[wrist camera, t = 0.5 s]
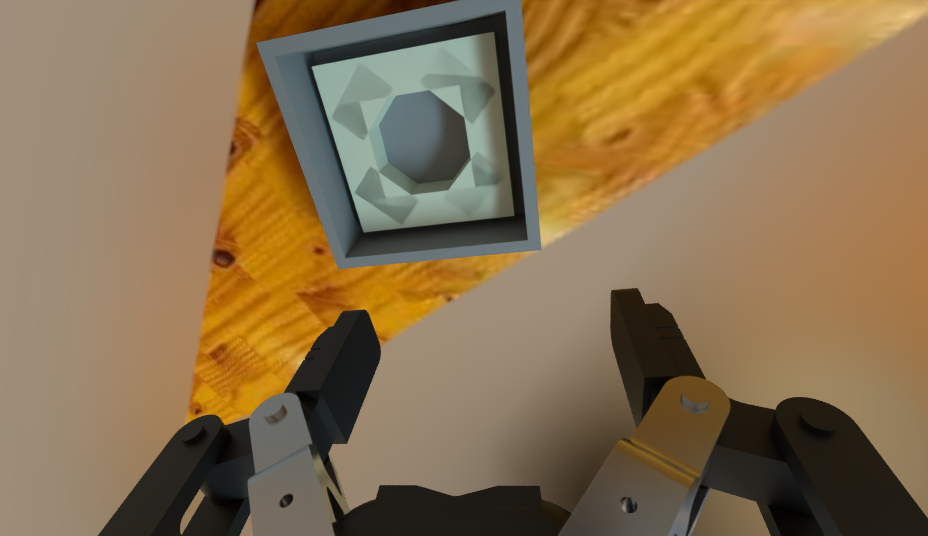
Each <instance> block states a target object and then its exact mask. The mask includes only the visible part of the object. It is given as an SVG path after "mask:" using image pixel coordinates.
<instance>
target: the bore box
mask: <svg viewBox="0 0 928 536" xmlns="http://www.w3.org/2000/svg"><path fill="white" fill-rule="evenodd" d="M256 44H257V47H258V50H259V53H260V55H261V58H262V61H263V64H264V66H265V69H266V72H267V75H268V77H269V80H270V83H271V86H272V88H273V91H274V94H275V97H276V99H277V102H278V105H279V108H280V110H281V113H282V116H283V119H284V121H285V124H286V127H287V130H288V132H289V135H290V138H291V141H292V143H293V146H294V149H295V152H296V154H297V157H298V160H299V163H300V165H301V168H302V171H303V174H304V176H305V179H306V182H307V185H308V187H309V190H310V193H311V196H312V198H313V201H314V204H315V207H316V209H317V212H318V215H319V218H320V220H321V223H322V226H323V229H324V231H325V234H326V237H327V240H328V242H329V245H330V248H331V251H332V253H333V256H334V259H335V262H336V264H337V267H338V269H343V268H354V267H364V266H375V265H386V264H396V263H407V262H418V261H428V260H439V259H450V258H460V257H471V256H482V255H492V254H503V253H514V252H525V251H535V250H541V240H540V228H539V215H538V203H537V191H536V178H535V166H534V154H533V141H532V129H531V117H530V105H529V92H528V80H527V68H526V55H525V43H524V31H523V18H522V6H521V0H458V1H453V2H448V3H444V4H439V5H434V6H429V7H425V8H420V9H415V10H410V11H405V12H401V13H396V14H391V15H386V16H382V17H377V18H372V19H367V20H362V21H358V22H353V23H348V24H343V25H338V26H334V27H329V28H324V29H319V30H315V31H310V32H305V33H300V34H295V35H291V36H286V37H281V38H276V39H272V40H267V41H262V42H257V43H256Z"/></svg>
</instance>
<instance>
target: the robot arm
mask: <svg viewBox="0 0 928 536" xmlns="http://www.w3.org/2000/svg"><path fill="white" fill-rule="evenodd" d="M610 323H611V324H610V328H611V340H612V345H613V350H614V353H615V357H616V360H617V364H618V367H619V370H620V374H621V377H622V380H623V384H624V388H625V391H626V394H627V398H628V401H629V405H630V408H631V411H632V415H633V418H634V422H635V425H636V428H637V429H636V431H635V432H634V434H633V436H632V437H631V438H630V439H629V440H627V439H625V438H623V439H621V440H620V441H619V442H618V443H617V445H616V446H615V448H614V449H613V451H612V452H611V454H610V455H609V457H608V458H607V460H606V461H605V463H604V464H603V466H602V468H601V469H600V471H599V472H598V474H597V475H596V477H595V479H594V480H593V482H592V483H591V485H590V486H589V488H588V489H587V491H586V492H585V494H584V496H583V497H582V499H581V500H580V502H579V503H578V505H577V506H576V508H575V509H574V511H573V512H572V513H571V512H569V511H568V510H566V509H564V508H562V507H561V506H558V505H556V504H554V503H551V502H548V501H545V500H542V499H541V492H540V486H496V487H492V488H488V489H484V490H480V491H476V492H472V493H468V494H464V495H461V496H451V495H447V494H444V493H441V492H437V491H434V490H430V489H427V488H424V487H420V486H416V485H413V486H412V485H406V486H405V485H401V486H400V485H380V486H379V490H378V493H377V497H376V499H375V500H372V501H369V502H366V503H364V504H362V505H360V506H358V507H356V508H354V509H353V510H351V511H350V509H349V506H348V504H347V501H346V498H345V495H344V492H343V490H342V486H341V483H340V480H339V478H338V475H337V472H336V469H335V466H334V463H333V460H332V458H331V456H330V454H329V451H330V448H331V446H332V444H347V442H348V440H349V437H350V435H351V432H352V430H353V427H354V424H355V422H356V419H357V417H358V415H359V412H360V409H361V407H362V404H363V402H364V399H365V397H366V394H367V392H368V389H369V387H370V384H371V381H372V379H373V376H374V374H375V371H376V369H377V366H378V364H379V361H380V356H381V348H380V343H379V340H378V338H377V335H376V332H375V330H374V327H373V324H372V322H371V319H370V316H369V314H368V312H367V311H366V310H352V311H343V312H342V313H341V314H340V316H339V318H338V319H337V321H336V323H335V324H334V326H333V327H329V328H328V329H326V330H325V331H324V332H323V333H322V334H321V335H320V336H319V337H318V338H317V339H316V341H315V342H314V344H313V346H312V347H311V351H309V352H308V354H307V355H306V357H305V360H303V362H302V364H301V365H300V367H299V368H298V370H297V372H296V373H295V375H294V377H293V378H292V380H291V381H290V383H289V385H288V386H287V388H286V390H285V391H284V393H281V394H277V395H275V396H272V397H270V398H269V399H267V400H265V401H264V402H263V403H261V404H260V405H259V406H258V407H257V408H256V409H255V410H254V412H253V413H252V415H251V417H250V418H248V419H245V420H241V421H238V422H235V423H231V424H228V425H224V423H223V422H222V420H221V419H220V418H219V417H218V416H216V415H205V416H202V417H199V418H196V419H194V420H192V421H191V422H189V423H187V424H186V425H185V426H183V427H182V428H181V429H180V430H179V431H178V432H177V433H176V434H175V435H174V436H173V437H172V438H171V440H170V441H169V442H168V444H167V445H166V446H165V448H164V449H163V450H162V452H161V453H160V454H159V456H158V457H157V458H156V459H155V461H154V462H153V464H152V465H151V466H150V468H149V469H148V470H147V471H146V473H145V474H144V475H143V477H142V478H141V479H140V481H139V482H138V483H137V485H136V486H135V487H134V489H133V490H132V491H131V493H130V494H129V495H128V496H127V498H126V499H125V500H124V502H123V503H122V504H121V506H120V507H119V508H118V510H117V511H116V513H115V514H114V515H113V517H112V518H111V519H110V520H109V522H108V523H107V524H106V526H105V527H104V528H103V530H102V531H101V532H100V534H99V535H98V536H239V535H240V533H241V531H242V529H243V527H244V525H245V523H246V521H247V519H248V517H249V515H250V513H251V520H252V529H253V536H691V534H692V532H693V529H694V527H695V525H696V522H697V520H698V518H699V515H700V513H701V511H702V508H703V506H704V504H705V501H706V499H707V497H708V494H709V492H710V490H711V488H712V489H715V490H719V491H722V492H726V493H729V494H732V495H736V496H739V497H743V498H746V499H749V500H753V501H756V502H757V505H758V507H759V509H760V512H761V514H762V516H763V519H764V521H765V523H766V526H767V528H768V530H769V533H770V535H771V536H928V518H927V517H926V515H925V514H924V513H923V511H922V510H921V509H920V507H919V506H918V505H917V503H916V502H915V501H914V499H913V498H912V497H911V496H910V494H909V493H908V492H907V490H906V489H905V488H904V486H903V485H902V484H901V482H900V481H899V480H898V478H897V477H896V476H895V474H894V473H893V472H892V470H891V469H890V468H889V466H888V465H887V464H886V462H885V461H884V460H883V458H882V457H881V456H880V454H879V453H878V452H877V450H876V449H875V448H874V446H873V445H872V444H871V443H870V441H869V440H868V439H867V437H866V436H865V434H864V433H863V432H862V430H861V429H860V428H859V426H858V425H857V424H856V423H855V422H854V420H852V419H851V418H850V417H849V416H848V415H847V414H845V413H844V412H843V411H841V410H840V409H838V408H836V407H834V406H832V405H830V404H828V403H825V402H823V401H819V400H816V399H812V398H806V397H793V398H789V399H786V400H783V401H782V402H780V403H779V404H778V405H777V408H776V410H774V409H769V408H764V407H759V406H754V405H749V404H745V403H741V402H738V401H735V400H733V399H730V398H728V397H727V395H726V394H725V392H724V391H723V390H722V389H721V388H719V387H718V386H717V385H715V384H713V383H712V382H710V381H708V380H706V378H705V376H704V375H703V373H702V371H701V369H700V367H699V365H698V363H697V362H696V359H695V357H694V356H693V354H692V352H691V350H690V348H689V346H688V344H687V342H686V340H685V339H684V337H683V335H682V333H681V331H680V329H678V325H677V323H676V321H675V319H674V317H673V315H672V314H671V313H670V312H669V311H667V310H666V309H665V308H664V307H662V306H661V305H660V304H659V303H654V304H645V303H644V300H643V298H642V296H641V294H640V292H639V290H638V288H632V289H619V290H612V291H611V322H610ZM199 489H200V490H201V491H202V492H203V493H204V494H205V497H204V498H203V500H202V502H201V503H200V505H199V507H198V508H197V510H196V512H195V514H194V515H193V517H192V518H191V520H190V522H189V524H188V525H187V527H186V529H185V530H184V532H183V534H182V535H181V534H180V523H181V520H182V517H183V515H184V513H185V512H186V510H187V509H188V507H189V505H190V504H191V502H192V500H193V499H194V497H195V496H196V494H197V492H198V491H199Z"/></svg>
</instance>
